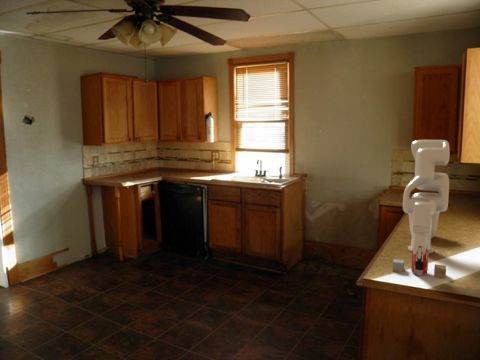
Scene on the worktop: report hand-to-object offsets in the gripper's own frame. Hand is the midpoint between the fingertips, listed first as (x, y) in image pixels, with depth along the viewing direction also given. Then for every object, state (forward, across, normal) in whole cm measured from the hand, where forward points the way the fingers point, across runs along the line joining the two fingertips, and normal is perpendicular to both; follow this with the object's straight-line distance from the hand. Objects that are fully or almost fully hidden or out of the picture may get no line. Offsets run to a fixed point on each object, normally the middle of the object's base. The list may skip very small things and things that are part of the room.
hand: (419, 266), depth 185 cm
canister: (+3, -65, -1) cm, 65 cm away
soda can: (+3, 0, 0) cm, 3 cm away
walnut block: (+3, 0, +8) cm, 9 cm away
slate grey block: (+3, 0, -9) cm, 10 cm away
